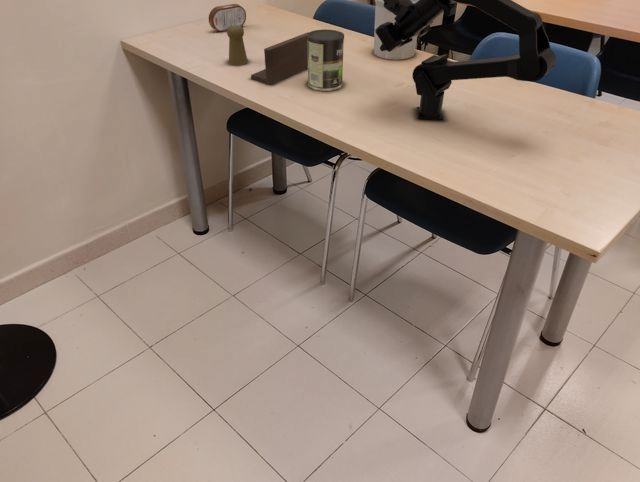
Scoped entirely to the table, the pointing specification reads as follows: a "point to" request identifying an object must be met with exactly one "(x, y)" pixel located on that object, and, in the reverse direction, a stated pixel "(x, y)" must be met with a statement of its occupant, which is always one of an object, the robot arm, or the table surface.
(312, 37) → the coffee can
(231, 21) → the tin
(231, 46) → the olive green pawn
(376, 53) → the utensil holder
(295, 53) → the walnut bookend
